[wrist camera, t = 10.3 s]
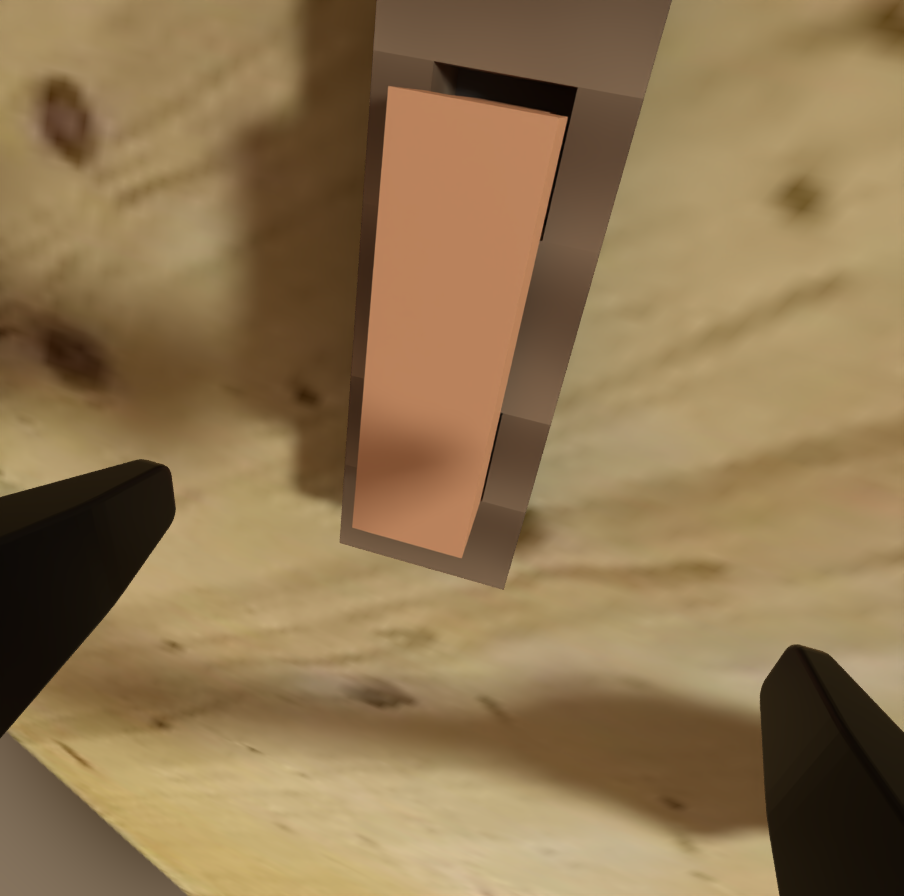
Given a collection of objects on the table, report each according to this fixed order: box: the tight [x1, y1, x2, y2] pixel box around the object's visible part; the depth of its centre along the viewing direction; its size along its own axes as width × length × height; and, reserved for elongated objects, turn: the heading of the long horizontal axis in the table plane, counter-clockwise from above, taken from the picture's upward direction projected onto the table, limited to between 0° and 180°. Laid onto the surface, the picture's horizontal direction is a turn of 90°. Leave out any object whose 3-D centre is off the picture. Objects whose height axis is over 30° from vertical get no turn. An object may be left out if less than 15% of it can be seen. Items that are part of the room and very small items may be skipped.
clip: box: [352, 86, 568, 558], centre depth 15 cm, size 10×3×6 cm, turn 170°
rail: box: [340, 0, 672, 590], centre depth 17 cm, size 18×6×3 cm, turn 170°
